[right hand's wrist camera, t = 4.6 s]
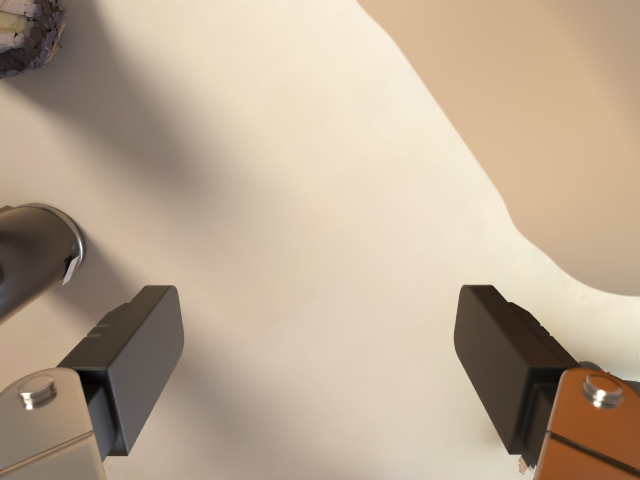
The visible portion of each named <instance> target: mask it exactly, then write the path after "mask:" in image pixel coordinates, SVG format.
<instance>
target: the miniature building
mask: <svg viewBox="0 0 640 480" xmlns="http://www.w3.org/2000/svg"><path fill="white" fill-rule="evenodd" d="M34 1H35V2H34ZM33 2H34V3H33ZM49 2H52V4H53V12H52V11H51V8H50V5H49ZM32 3H33V4H32ZM25 4H26V5H25ZM41 5H42V6H41ZM42 7H43V10H42ZM24 12H28V13H26V14H24ZM42 13H43V15H41V14H42ZM35 14H36V15H35ZM55 14H56V15H55ZM24 15H25V16H26V17H25V16H24ZM34 15H35V16H34ZM52 15H53V16H52ZM37 16H39V17H37ZM40 16H41V18H40ZM66 16H67V12H66V9H65V10H62V8H61V7H60V2H59V0H48V2H47V0H43V1H42V0H32V1H31V0H0V49H1V50H0V79H2V78H5V77H9V76H16V75H18V74H21V73H24V72H25V71H27V70H30V69H33V70H35V69H43V68H45V67H46V66H47V64H48V63H49V62H50V61H51V59H52V58H53V56H54V55H55V53H56V52H57V50H58V49H59V48H62V47H61V46H60V45H59V44H58V41H59V39H60V37H61V34H62V32H63V29H64V27H65V26H66V24H65V17H66ZM27 17H32V18H27ZM33 17H34V18H35V19H37V20H38V21H40V22H37V21H32V20H33ZM27 19H29V20H31V21H27ZM41 19H42V20H41ZM51 19H52V20H51ZM42 23H43V24H42ZM38 28H39V29H41V30H43V31H40V30H39V29H38ZM15 29H16V31H15ZM48 29H49V30H48ZM7 31H8V32H7ZM23 31H24V32H25V33H24V32H23ZM15 32H16V33H18V35H17V36H16V37H15V38H14V36H15ZM42 33H44V34H45V35H44V34H42ZM41 39H42V40H41ZM24 41H25V42H24ZM14 42H15V43H14ZM16 42H17V43H16ZM35 46H36V48H37V49H33V48H34V47H35ZM4 47H5V48H4ZM10 47H11V48H14V49H15V50H13V49H11V48H10ZM2 48H4V49H2ZM20 48H21V49H20ZM23 49H25V51H24V50H23ZM6 51H7V52H6ZM23 51H24V52H23ZM37 51H38V52H37ZM8 52H9V53H8ZM25 52H26V53H25ZM6 53H7V54H6ZM24 53H25V54H24ZM11 55H12V56H13V57H14V58H15V59H13V58H12V56H11ZM23 55H24V56H23ZM22 56H23V57H22ZM7 81H8V80H7Z"/></svg>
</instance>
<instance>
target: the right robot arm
mask: <svg viewBox="0 0 640 480" xmlns="http://www.w3.org/2000/svg"><path fill="white" fill-rule="evenodd" d="M84 258H85V243H84V239H83V236H82V234H81V232H80V230H79V229H78V227H77V226H76V224H75V223H74V222H73V221H72V220H71V219H70V218H69V217H68V216H67V215H65V214H64V213H62V212H61V211H59V210H57V209H55V208H53V207H51V206H48V205H44V204H38V203H29V204H23V205H20V206H18V207H15V208H13V207H10V206H5V207H2V208H0V325H1V324H3V323H4V322H6V321H7V320H8V319H10V318H11V317H13V316H14V315H15V314H17V313H18V312H19V311H21V310H22V309H24V308H25V307H26V306H28V305H29V304H30V303H32V302H33V301H35V300H36V299H37V298H39V297H40V296H42V295H43V294H44V293H46V292H47V291H48V290H50V289H51V288H53V287H54V286H55V285H57V284H58V283H60V282H61V281H62V280H64V281H63V284H62V285H64V284H65V283H66V282H68V281H69V280H70V277H71V275H72V274H73V273H75V272H76V271H77V270H78V269H79V268H80V266H81V265H82V263H83V261H84ZM183 345H184V331H183V324H182V317H181V310H180V303H179V296H178V291H177V289H176V287H175V286H173V285H147V286H145V287H144V288H143V289H142V290H141V291H140V292H139V293H138V294H137V295H136V296H135V297H134V299H133V300H132V301H131V302H130V303H124V304H123V305H121V306H119V307H117V308H116V309H114V310H112V311H111V312H109V313H108V314H107V315H106V316H105V317H104V318H103V319H102V320H101V321H100V322H99V323H98V324H97V327H94V328H93V329H92V330H91V331H90V332H89V333H88V334H87V337H84V338H83V339H82V341H81V342H80V343H79V344H78V345H77V346H76V347H75V348H74V349H73V350H72V351H71V352H70V353H69V354H68V355H67V356H66V357H65V358H64V359H63V360H62V361H61V362H60V363H59V364H58V365H57V367H56V368H49V369H44V370H41V371H37V372H34V373H32V374H29V375H27V376H25V377H22V378H20V379H19V380H17V381H15V382H14V383H12V384H10V385H9V386H8V387H6V388H5V389H4V390H3V391H2V392H1V393H0V480H107V478H106V475H105V471H104V467H103V462H104V460H105V458H106V456H128V455H129V453H130V451H131V449H132V447H133V445H134V443H135V441H136V439H137V438H138V436H139V434H140V432H141V430H142V428H143V426H144V424H145V422H146V421H147V419H148V417H149V415H150V413H151V411H152V409H153V407H154V405H155V404H156V402H157V400H158V398H159V396H160V394H161V392H162V390H163V388H164V387H165V385H166V383H167V381H168V379H169V377H170V375H171V373H172V371H173V370H174V368H175V366H176V364H177V362H178V360H179V358H180V356H181V354H182V350H183ZM454 345H455V350H456V353H457V356H458V358H459V360H460V361H461V363H462V365H463V367H464V369H465V371H466V373H467V375H468V377H469V379H470V381H471V383H472V384H473V386H474V388H475V390H476V392H477V394H478V396H479V398H480V400H481V402H482V404H483V405H484V407H485V409H486V411H487V413H488V415H489V417H490V419H491V421H492V423H493V425H494V426H495V428H496V430H497V432H498V434H499V436H500V438H501V440H502V442H503V444H504V446H505V448H506V449H507V451H508V453H509V455H530V456H531V457H532V459H533V461H534V462H535V464H536V466H537V467H536V471H535V475H534V478H533V480H640V393H639V392H638V391H637V390H636V389H635V388H634V387H632V386H631V385H630V384H628V383H626V382H625V381H623V380H621V379H620V378H618V377H615V376H613V375H611V374H608V373H606V372H603V371H599V370H596V369H591V368H582V367H581V366H580V365H579V364H578V363H577V362H576V361H575V360H574V359H573V357H572V356H571V355H570V354H569V353H568V352H567V351H566V350H565V349H564V348H563V347H562V346H561V345H560V344H559V343H558V342H557V341H556V340H555V339H554V338H553V336H550V333H549V332H548V331H547V330H546V329H545V328H544V327H543V326H541V325H540V323H539V322H538V321H537V320H536V319H535V318H534V317H533V316H532V314H531V313H530V312H528V311H526V310H525V309H523V308H521V307H520V306H518V305H516V304H514V303H513V302H507V301H506V300H505V299H504V297H503V296H502V295H501V294H500V293H499V292H498V291H497V290H496V288H495V287H494V286H492V285H463V286H462V288H461V290H460V295H459V302H458V309H457V316H456V323H455V330H454Z"/></svg>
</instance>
